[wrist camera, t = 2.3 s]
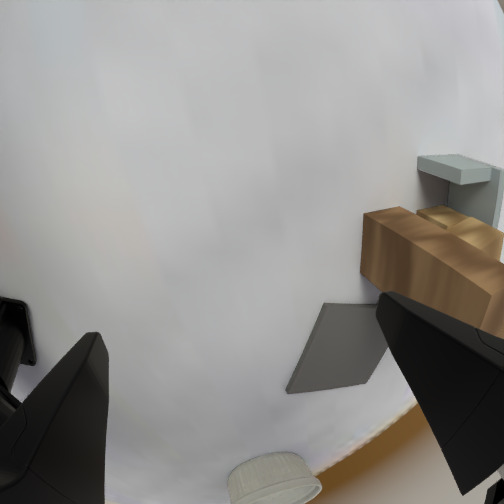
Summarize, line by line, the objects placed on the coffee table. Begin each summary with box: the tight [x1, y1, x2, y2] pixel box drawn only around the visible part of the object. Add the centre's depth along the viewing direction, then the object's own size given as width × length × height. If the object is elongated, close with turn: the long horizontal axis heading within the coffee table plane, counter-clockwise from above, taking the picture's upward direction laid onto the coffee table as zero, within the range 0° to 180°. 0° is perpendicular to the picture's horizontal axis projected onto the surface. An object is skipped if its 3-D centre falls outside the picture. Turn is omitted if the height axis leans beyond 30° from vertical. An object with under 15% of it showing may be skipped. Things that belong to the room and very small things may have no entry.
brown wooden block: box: [360, 207, 504, 337], centre depth 20 cm, size 4×6×13 cm
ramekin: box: [228, 452, 322, 504], centre depth 35 cm, size 13×13×7 cm
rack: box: [418, 155, 504, 229], centre depth 24 cm, size 6×14×6 cm, turn 6°
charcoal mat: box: [286, 303, 388, 394], centre depth 30 cm, size 11×11×1 cm
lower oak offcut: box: [416, 205, 469, 230], centre depth 25 cm, size 4×4×4 cm
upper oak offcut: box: [446, 217, 504, 261], centre depth 22 cm, size 4×4×4 cm
